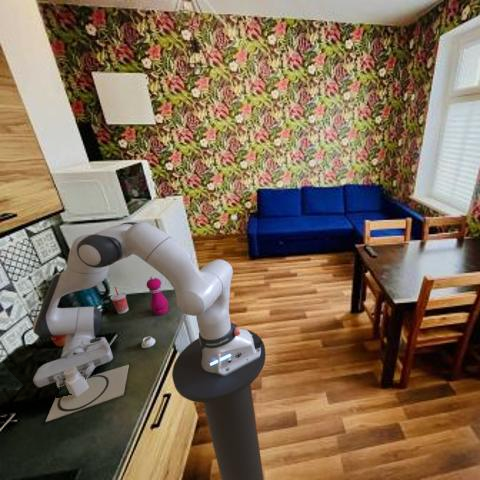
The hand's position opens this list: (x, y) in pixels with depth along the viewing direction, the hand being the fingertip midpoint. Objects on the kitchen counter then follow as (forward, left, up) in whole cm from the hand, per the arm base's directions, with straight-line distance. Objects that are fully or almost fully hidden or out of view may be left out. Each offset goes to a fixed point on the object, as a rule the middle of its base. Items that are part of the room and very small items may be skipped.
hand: (73, 380), depth 87 cm
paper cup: (+14, -36, -8) cm, 39 cm away
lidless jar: (-18, -18, -8) cm, 27 cm away
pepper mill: (-22, -41, -8) cm, 47 cm away
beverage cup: (-5, -50, -8) cm, 51 cm away
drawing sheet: (-2, -2, -8) cm, 8 cm away
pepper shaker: (0, -1, -6) cm, 6 cm away
